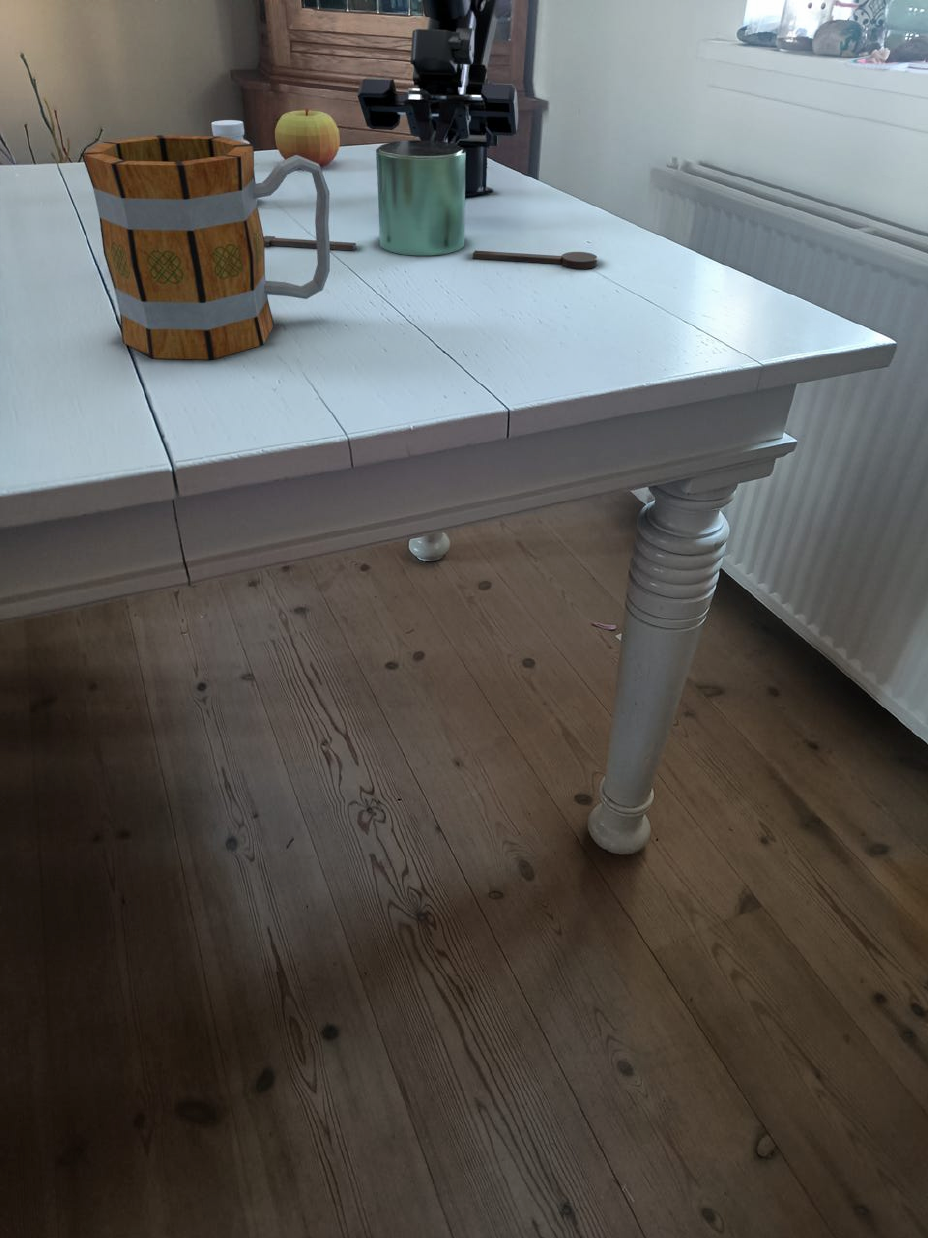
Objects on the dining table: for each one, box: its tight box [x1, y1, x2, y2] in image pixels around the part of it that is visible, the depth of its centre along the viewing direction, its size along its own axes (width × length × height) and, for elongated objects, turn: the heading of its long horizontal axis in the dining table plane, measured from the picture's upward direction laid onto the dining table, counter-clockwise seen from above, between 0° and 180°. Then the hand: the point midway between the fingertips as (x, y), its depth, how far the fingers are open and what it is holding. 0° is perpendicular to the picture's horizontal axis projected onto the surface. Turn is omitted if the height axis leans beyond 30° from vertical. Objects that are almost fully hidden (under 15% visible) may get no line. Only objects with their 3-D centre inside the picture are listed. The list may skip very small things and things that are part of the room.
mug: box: [81, 134, 331, 360], centre depth 78 cm, size 20×14×15 cm
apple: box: [274, 108, 341, 168], centre depth 139 cm, size 10×10×8 cm
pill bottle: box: [211, 119, 259, 202], centre depth 117 cm, size 5×5×10 cm
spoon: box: [472, 249, 599, 270], centre depth 101 cm, size 14×4×1 cm, turn 80°
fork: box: [264, 235, 357, 252], centre depth 104 cm, size 15×2×1 cm, turn 80°
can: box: [375, 140, 466, 257], centre depth 103 cm, size 10×10×10 cm
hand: (429, 170), depth 106 cm, fingers closed, pressing on can
